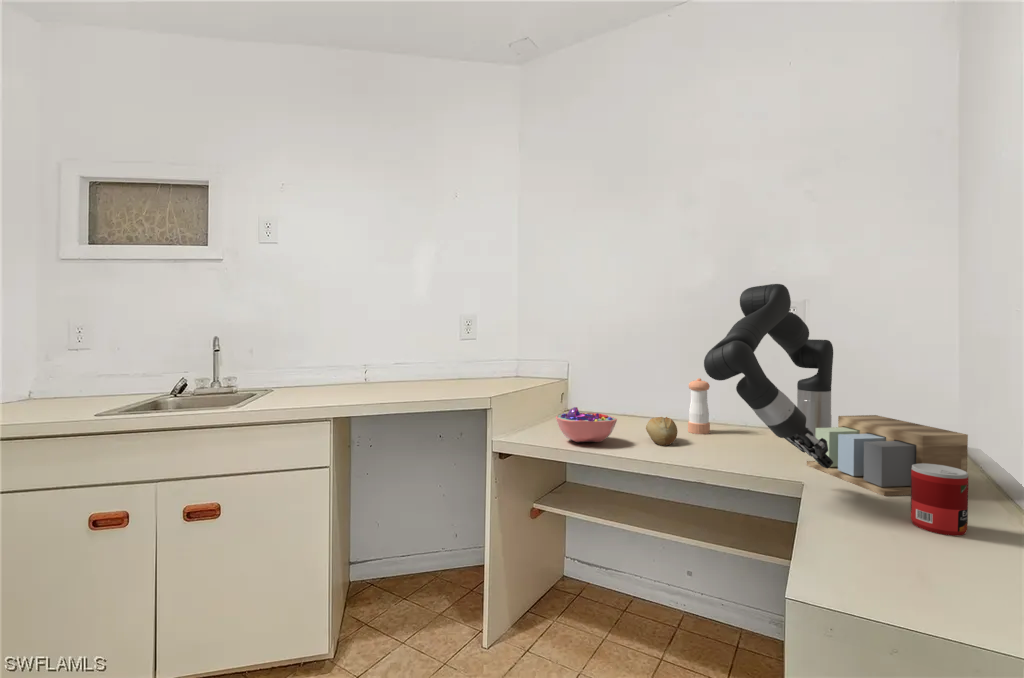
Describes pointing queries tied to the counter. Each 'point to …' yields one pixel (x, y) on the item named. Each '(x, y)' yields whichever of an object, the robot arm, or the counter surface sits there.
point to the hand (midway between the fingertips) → (828, 464)
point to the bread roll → (662, 430)
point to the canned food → (939, 499)
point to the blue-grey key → (854, 452)
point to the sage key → (833, 440)
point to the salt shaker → (699, 408)
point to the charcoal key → (889, 462)
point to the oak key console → (928, 441)
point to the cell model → (585, 426)
